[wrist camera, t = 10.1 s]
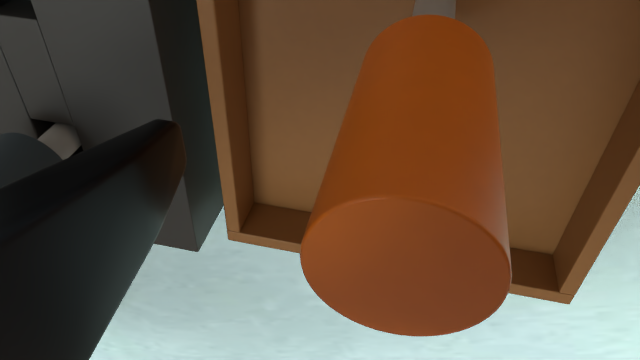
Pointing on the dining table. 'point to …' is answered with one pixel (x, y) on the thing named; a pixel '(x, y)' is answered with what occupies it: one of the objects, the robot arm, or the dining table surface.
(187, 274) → the dining table surface
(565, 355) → the dining table surface
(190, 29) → the rack
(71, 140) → the screwdriver
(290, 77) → the tray
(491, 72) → the orange-handled tool
